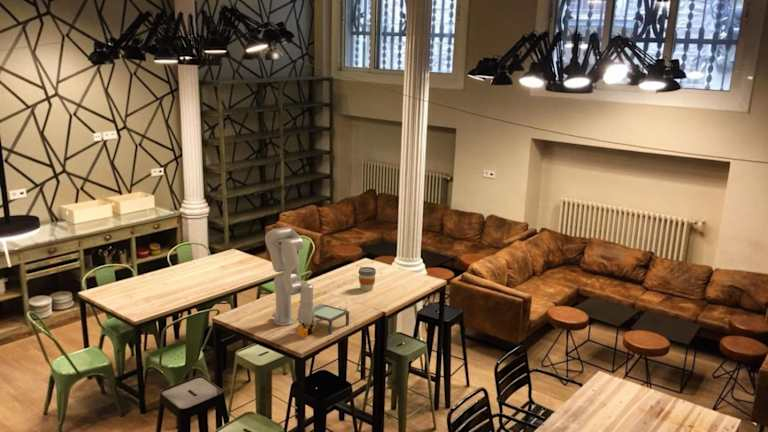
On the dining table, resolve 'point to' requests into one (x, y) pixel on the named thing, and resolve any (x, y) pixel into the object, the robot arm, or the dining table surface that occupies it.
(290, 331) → the dining table surface
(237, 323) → the dining table surface
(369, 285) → the reusable coffee cup
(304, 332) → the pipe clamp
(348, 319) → the frame
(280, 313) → the robot arm
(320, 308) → the trapdoor
